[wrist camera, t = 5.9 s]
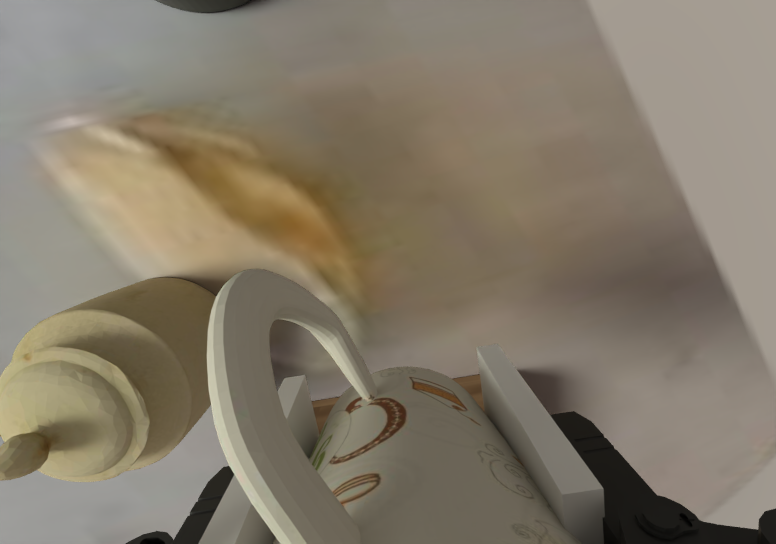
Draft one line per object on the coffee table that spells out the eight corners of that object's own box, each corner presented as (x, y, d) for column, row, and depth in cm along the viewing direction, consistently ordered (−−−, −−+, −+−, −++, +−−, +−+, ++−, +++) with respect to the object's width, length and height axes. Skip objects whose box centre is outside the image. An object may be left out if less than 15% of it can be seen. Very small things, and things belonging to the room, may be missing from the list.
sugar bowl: (144, 447, 33) (-43, 653, 19) (46, 356, 31) (-250, 507, 17) (270, 350, 31) (171, 494, 17) (174, 247, 29) (-32, 308, 15)
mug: (365, 563, 15) (349, 1216, 6) (176, 308, 13) (-455, 685, 3) (550, 470, 15) (896, 1024, 5) (389, 182, 12) (447, 151, 2)
